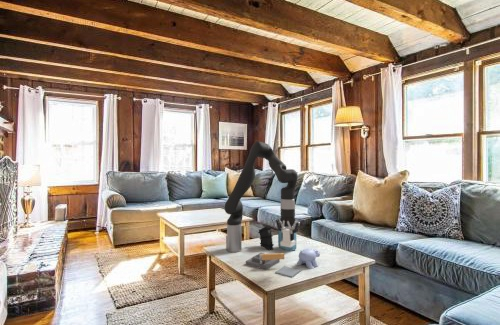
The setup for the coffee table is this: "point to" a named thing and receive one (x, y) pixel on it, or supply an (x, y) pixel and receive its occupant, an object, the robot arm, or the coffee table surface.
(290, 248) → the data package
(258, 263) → the socket block
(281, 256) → the orange rod with knob
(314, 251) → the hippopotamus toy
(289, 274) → the mat
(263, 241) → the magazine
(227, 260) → the coffee table surface
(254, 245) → the coffee table surface
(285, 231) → the plug
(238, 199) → the robot arm
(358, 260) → the coffee table surface
